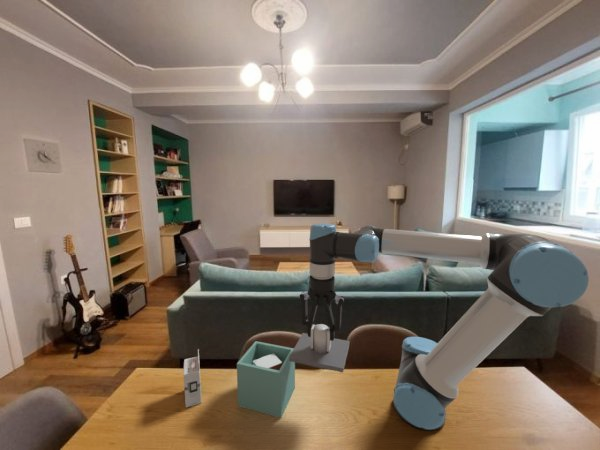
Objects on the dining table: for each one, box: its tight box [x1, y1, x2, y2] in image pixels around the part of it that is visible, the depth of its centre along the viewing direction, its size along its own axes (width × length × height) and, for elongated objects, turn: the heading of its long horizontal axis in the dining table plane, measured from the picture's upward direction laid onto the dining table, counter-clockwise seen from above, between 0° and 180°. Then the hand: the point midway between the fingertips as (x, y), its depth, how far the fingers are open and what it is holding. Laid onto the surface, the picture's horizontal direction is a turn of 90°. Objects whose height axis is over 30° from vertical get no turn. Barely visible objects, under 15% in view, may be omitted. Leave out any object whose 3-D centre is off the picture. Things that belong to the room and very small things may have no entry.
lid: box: [289, 323, 351, 373], centre depth 83 cm, size 16×14×10 cm
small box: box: [253, 353, 282, 370], centre depth 90 cm, size 8×6×13 cm
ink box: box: [183, 348, 202, 408], centre depth 89 cm, size 9×5×15 cm, turn 22°
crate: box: [236, 340, 296, 419], centre depth 89 cm, size 15×13×15 cm
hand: (320, 347), depth 83 cm, fingers closed on lid, 4 cm apart
